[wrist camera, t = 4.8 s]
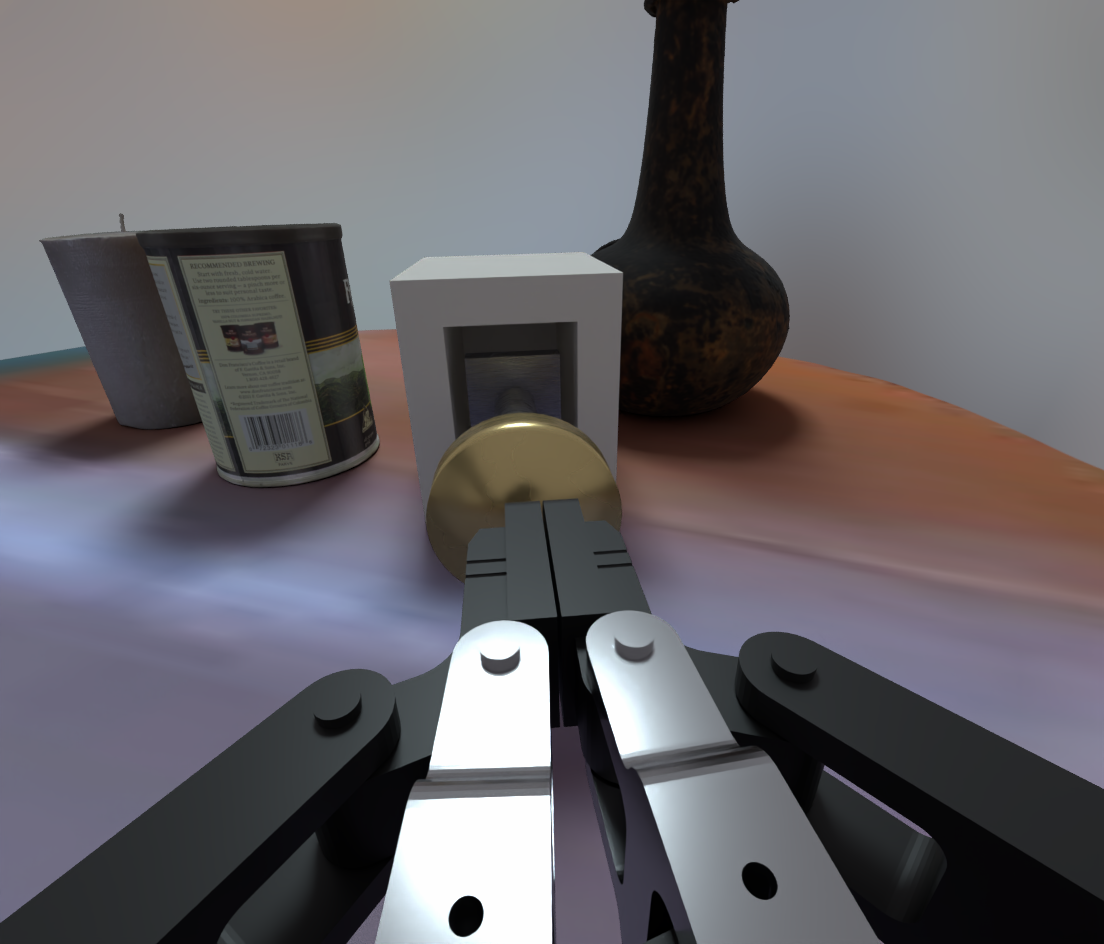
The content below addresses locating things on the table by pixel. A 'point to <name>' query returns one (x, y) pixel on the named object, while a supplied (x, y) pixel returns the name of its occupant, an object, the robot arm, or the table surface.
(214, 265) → the coffee can
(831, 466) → the table surface
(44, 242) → the pillar candle
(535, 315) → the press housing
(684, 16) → the antique onion bottle
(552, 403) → the plunger
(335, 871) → the robot arm
